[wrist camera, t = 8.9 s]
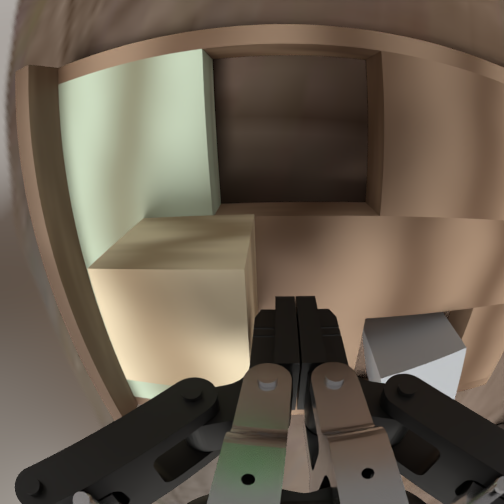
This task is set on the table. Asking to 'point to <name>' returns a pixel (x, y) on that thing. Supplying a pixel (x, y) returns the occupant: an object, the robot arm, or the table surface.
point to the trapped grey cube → (414, 350)
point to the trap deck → (275, 213)
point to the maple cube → (181, 298)
